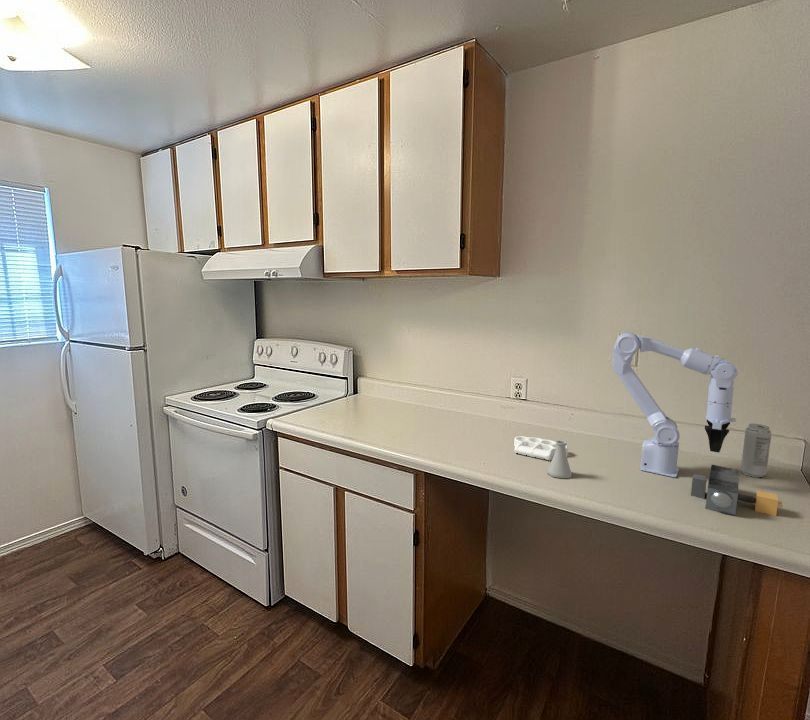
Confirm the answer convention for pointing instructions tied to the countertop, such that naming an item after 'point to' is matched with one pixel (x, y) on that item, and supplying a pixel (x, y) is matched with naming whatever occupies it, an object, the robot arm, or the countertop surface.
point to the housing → (722, 489)
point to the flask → (560, 462)
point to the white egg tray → (535, 447)
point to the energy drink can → (756, 450)
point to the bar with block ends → (741, 496)
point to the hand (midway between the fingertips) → (715, 447)
